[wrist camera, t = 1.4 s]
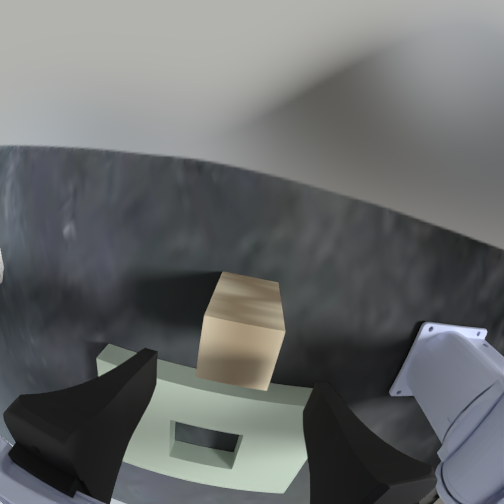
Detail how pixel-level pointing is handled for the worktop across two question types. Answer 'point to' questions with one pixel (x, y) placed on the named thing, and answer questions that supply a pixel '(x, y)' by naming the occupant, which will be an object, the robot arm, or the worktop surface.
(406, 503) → the robot arm
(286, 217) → the worktop surface
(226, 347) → the beech block
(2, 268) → the fire extinguisher
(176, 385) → the well board
